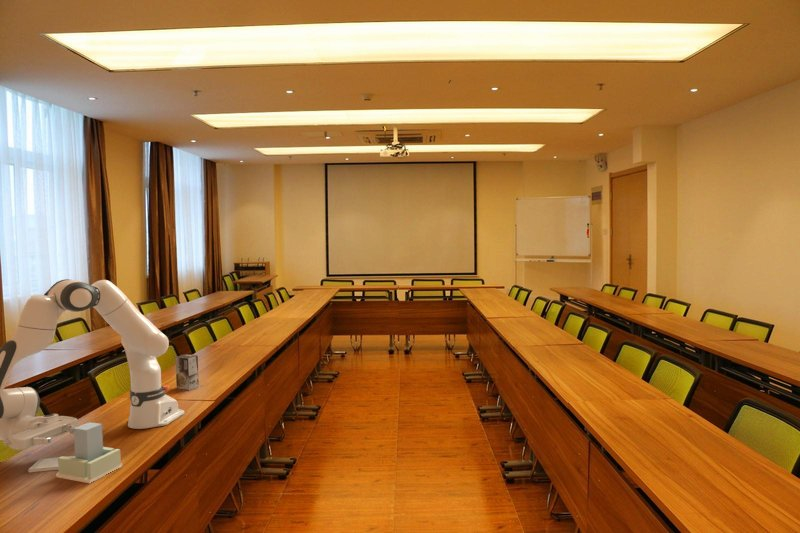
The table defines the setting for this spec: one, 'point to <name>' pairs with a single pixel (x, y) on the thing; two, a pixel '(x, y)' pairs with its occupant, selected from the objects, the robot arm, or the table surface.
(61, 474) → the cradle
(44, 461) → the hard drive
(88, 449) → the block
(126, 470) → the table surface
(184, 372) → the coffee box
